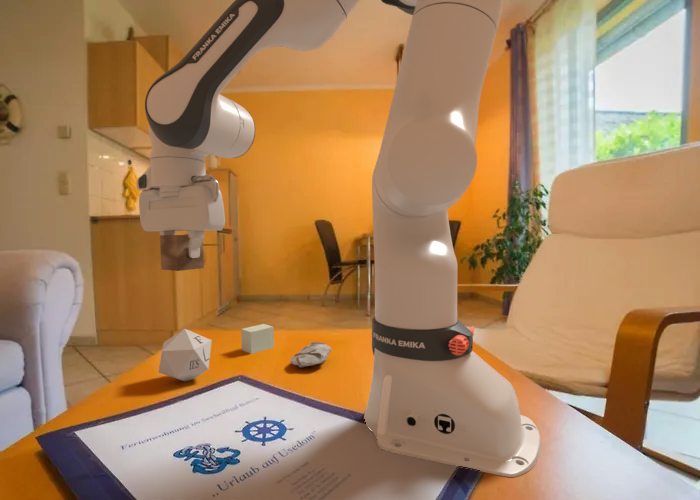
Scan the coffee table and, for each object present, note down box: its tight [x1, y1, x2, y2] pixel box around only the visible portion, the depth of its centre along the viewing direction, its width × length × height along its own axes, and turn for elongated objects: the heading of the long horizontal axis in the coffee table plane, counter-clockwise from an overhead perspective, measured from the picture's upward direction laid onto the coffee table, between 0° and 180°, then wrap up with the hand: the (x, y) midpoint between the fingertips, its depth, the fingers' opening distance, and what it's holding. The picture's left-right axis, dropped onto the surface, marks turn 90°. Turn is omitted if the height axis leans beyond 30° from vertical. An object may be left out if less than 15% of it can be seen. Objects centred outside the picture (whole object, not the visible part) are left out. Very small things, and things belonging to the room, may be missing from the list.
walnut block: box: [159, 234, 205, 272], centre depth 65 cm, size 5×5×6 cm
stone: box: [289, 341, 332, 368], centre depth 75 cm, size 10×7×3 cm
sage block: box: [241, 323, 275, 355], centre depth 84 cm, size 4×6×5 cm, turn 137°
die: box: [158, 328, 212, 383], centre depth 66 cm, size 8×9×10 cm
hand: (182, 257), depth 65 cm, fingers closed on walnut block, 5 cm apart
